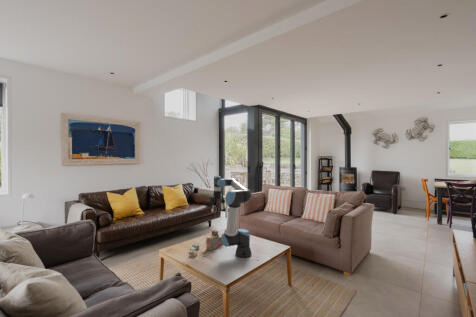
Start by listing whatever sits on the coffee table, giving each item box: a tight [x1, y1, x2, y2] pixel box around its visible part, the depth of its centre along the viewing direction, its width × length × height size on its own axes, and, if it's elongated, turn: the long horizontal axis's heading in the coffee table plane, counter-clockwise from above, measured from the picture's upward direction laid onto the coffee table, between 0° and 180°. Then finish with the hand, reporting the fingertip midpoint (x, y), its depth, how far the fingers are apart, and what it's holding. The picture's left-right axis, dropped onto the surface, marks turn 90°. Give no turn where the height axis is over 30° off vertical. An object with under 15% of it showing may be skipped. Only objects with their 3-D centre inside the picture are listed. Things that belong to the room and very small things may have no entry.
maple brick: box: [189, 250, 198, 258], centre depth 216 cm, size 6×4×4 cm, turn 68°
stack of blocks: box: [206, 233, 224, 251], centre depth 237 cm, size 21×6×12 cm, turn 146°
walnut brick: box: [211, 229, 219, 236], centre depth 236 cm, size 6×4×4 cm, turn 45°
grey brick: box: [191, 243, 200, 251], centre depth 230 cm, size 6×4×4 cm, turn 57°
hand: (217, 210), depth 246 cm, fingers open, 13 cm apart
